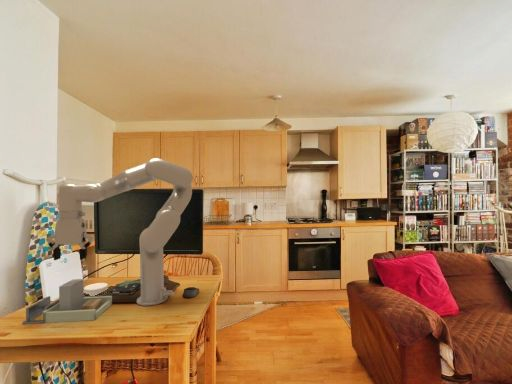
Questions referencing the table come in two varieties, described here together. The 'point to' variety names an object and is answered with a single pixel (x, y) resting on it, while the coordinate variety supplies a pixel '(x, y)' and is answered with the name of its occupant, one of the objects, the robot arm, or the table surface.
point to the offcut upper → (91, 304)
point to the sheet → (71, 295)
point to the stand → (38, 310)
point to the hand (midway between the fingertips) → (70, 259)
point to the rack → (76, 311)
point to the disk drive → (126, 287)
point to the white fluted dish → (95, 288)
